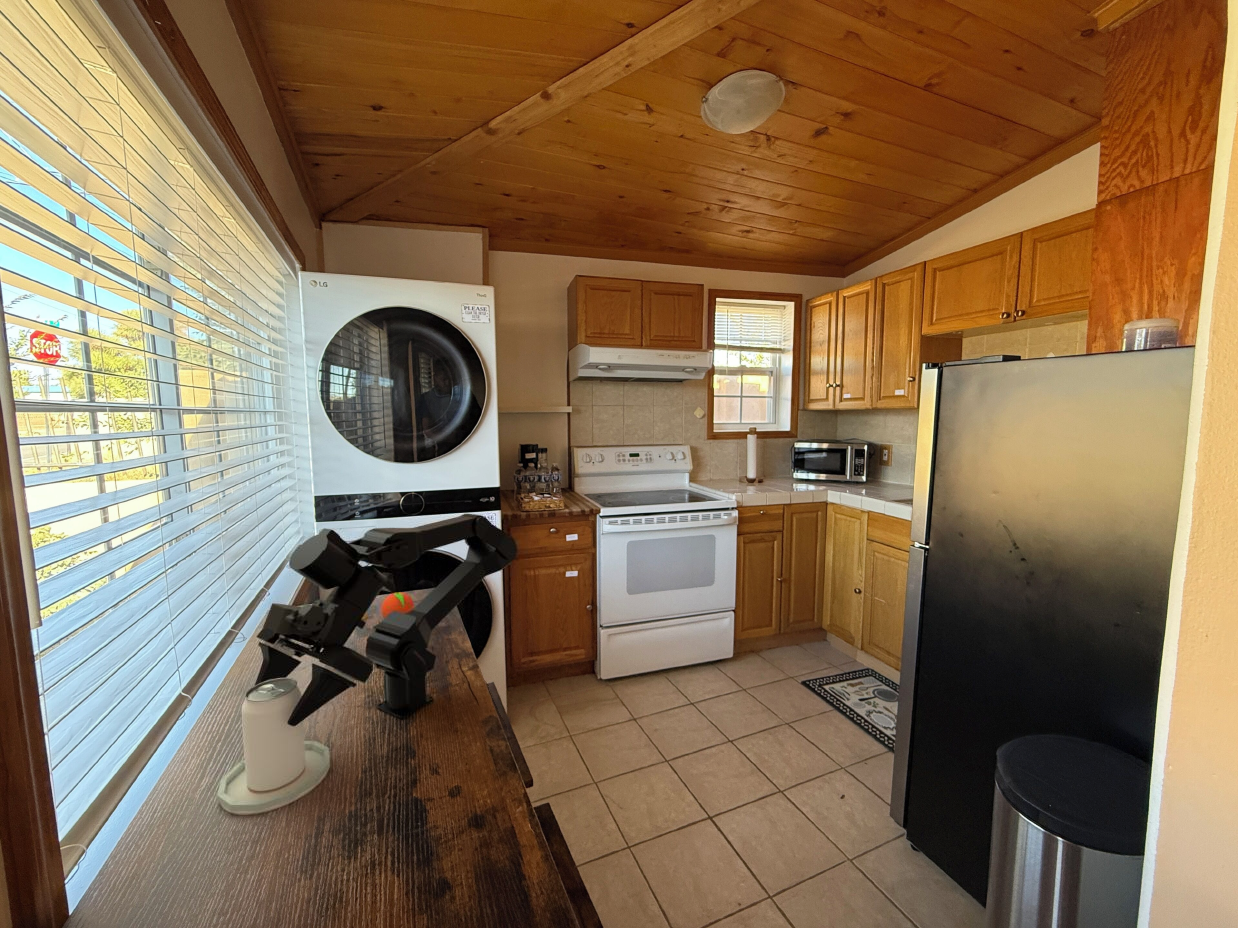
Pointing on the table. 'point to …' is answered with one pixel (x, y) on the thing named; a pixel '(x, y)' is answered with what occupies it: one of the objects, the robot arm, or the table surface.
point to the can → (272, 735)
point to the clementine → (397, 603)
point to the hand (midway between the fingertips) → (270, 714)
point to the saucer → (247, 801)
